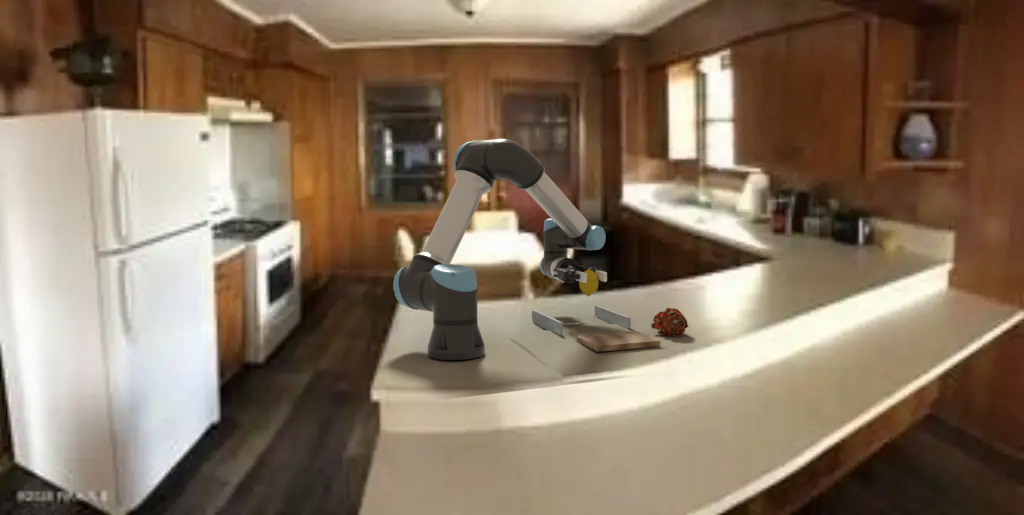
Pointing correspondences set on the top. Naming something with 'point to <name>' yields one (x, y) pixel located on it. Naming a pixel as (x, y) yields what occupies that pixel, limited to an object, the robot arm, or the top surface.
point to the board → (618, 341)
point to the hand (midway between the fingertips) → (595, 277)
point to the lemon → (589, 283)
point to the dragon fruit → (670, 322)
